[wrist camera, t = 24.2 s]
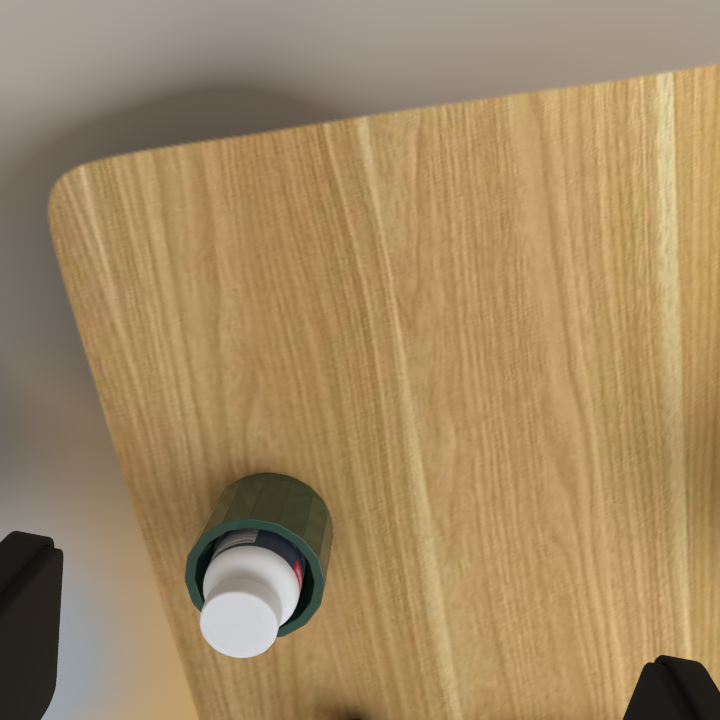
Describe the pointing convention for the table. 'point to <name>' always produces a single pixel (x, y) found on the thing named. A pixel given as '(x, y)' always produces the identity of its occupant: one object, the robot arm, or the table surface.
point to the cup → (275, 514)
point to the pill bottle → (250, 591)
